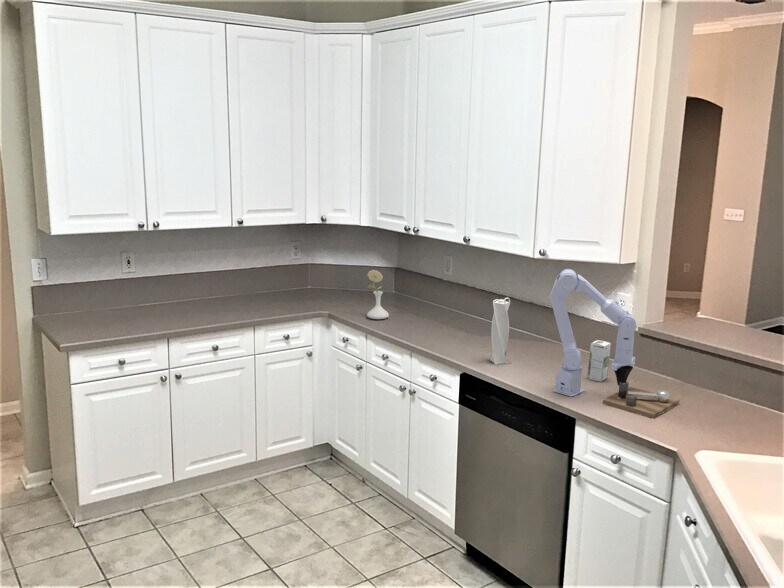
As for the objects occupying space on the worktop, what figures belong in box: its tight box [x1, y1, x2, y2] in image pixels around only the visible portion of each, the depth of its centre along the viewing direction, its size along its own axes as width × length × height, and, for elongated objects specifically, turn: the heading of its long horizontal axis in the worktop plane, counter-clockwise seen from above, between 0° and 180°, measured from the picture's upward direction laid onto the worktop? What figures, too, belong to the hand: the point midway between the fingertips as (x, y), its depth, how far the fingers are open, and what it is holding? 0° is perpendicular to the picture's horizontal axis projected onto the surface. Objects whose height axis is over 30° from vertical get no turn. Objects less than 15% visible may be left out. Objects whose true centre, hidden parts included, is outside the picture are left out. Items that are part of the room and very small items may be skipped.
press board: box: [602, 386, 680, 419], centre depth 231 cm, size 20×18×4 cm
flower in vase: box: [366, 269, 390, 320], centre depth 344 cm, size 13×11×25 cm
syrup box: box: [586, 339, 612, 383], centre depth 255 cm, size 6×6×14 cm
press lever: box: [617, 381, 670, 402], centre depth 231 cm, size 4×16×5 cm, turn 79°
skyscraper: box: [489, 297, 512, 365], centre depth 273 cm, size 8×8×28 cm
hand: (621, 385), depth 238 cm, fingers closed
